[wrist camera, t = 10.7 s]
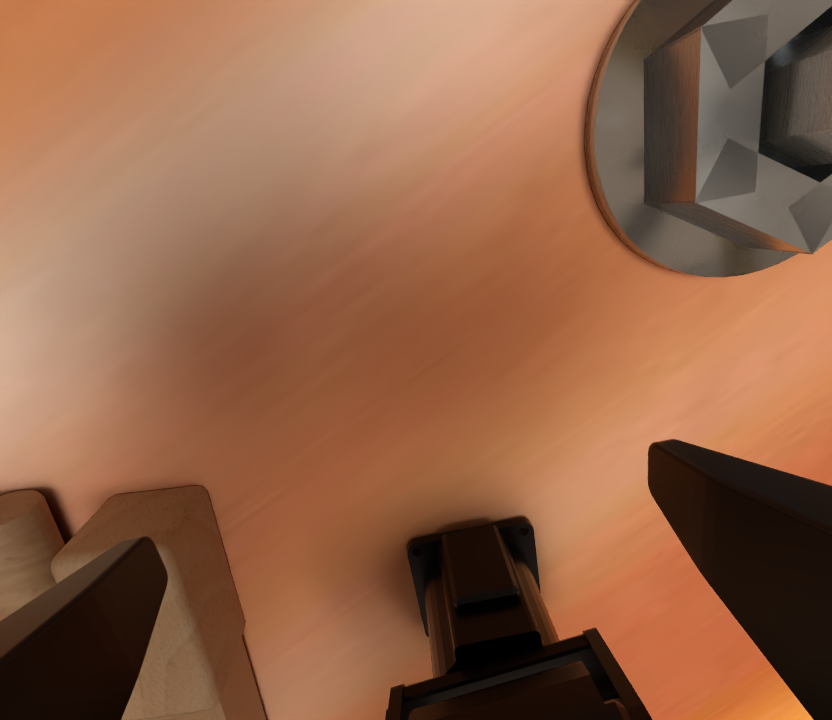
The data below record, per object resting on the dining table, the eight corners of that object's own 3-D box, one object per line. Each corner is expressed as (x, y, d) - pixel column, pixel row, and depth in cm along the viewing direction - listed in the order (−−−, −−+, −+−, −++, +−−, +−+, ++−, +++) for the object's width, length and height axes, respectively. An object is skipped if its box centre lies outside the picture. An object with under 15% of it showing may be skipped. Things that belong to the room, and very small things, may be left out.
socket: (924, 143, 18) (1066, 126, 14) (675, 328, 20) (743, 356, 16) (813, -164, 15) (961, -292, 11) (524, 95, 17) (566, 61, 13)
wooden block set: (145, 548, 16) (251, 843, 22) (205, 462, 21) (277, 717, 27) (-364, 611, 15) (-111, 899, 21) (-169, 506, 20) (-11, 759, 26)
